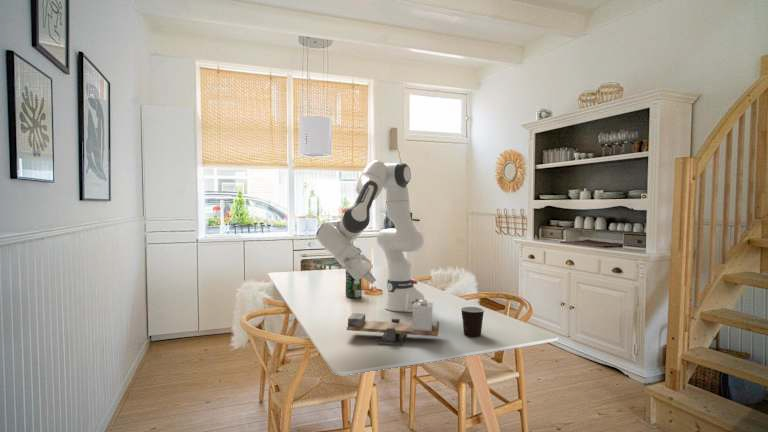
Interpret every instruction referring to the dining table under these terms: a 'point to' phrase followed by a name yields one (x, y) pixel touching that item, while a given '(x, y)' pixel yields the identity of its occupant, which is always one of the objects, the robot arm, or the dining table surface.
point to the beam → (385, 326)
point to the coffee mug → (472, 321)
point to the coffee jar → (353, 286)
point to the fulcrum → (392, 336)
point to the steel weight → (422, 316)
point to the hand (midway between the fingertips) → (374, 282)
